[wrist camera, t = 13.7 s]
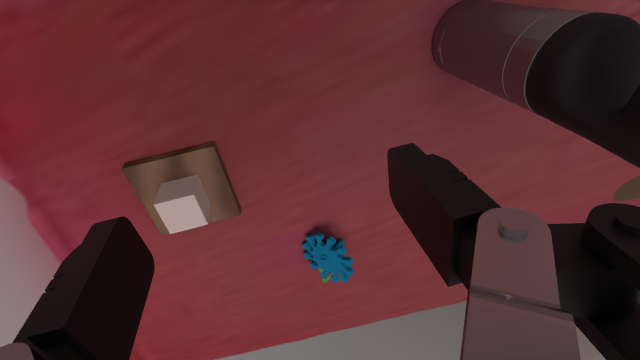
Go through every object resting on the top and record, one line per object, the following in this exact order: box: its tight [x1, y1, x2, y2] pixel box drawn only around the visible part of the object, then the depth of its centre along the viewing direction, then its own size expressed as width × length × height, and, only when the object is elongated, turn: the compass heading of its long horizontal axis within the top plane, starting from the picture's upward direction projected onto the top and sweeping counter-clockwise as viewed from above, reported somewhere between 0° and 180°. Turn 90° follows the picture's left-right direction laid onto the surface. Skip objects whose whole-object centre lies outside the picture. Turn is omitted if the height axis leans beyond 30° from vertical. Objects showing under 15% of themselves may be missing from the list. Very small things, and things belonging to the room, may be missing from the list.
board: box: [122, 142, 241, 235], centre depth 45 cm, size 12×12×5 cm
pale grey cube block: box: [153, 174, 211, 234], centre depth 44 cm, size 5×5×5 cm
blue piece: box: [302, 232, 354, 283], centre depth 57 cm, size 11×6×10 cm
